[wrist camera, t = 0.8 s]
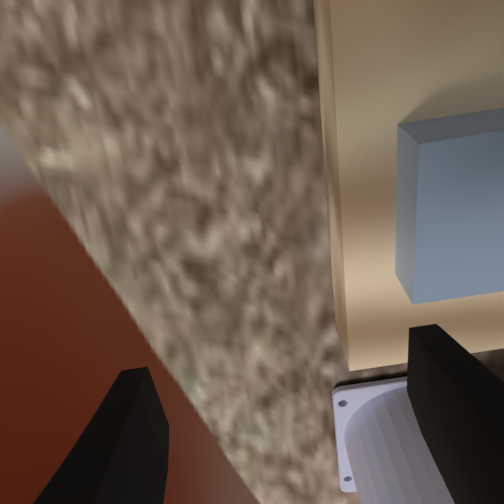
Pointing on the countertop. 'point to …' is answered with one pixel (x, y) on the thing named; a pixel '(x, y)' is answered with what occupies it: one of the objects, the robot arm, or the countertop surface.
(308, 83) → the countertop surface
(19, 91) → the countertop surface
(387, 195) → the board
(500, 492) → the robot arm
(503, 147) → the blue flat block
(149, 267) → the countertop surface
